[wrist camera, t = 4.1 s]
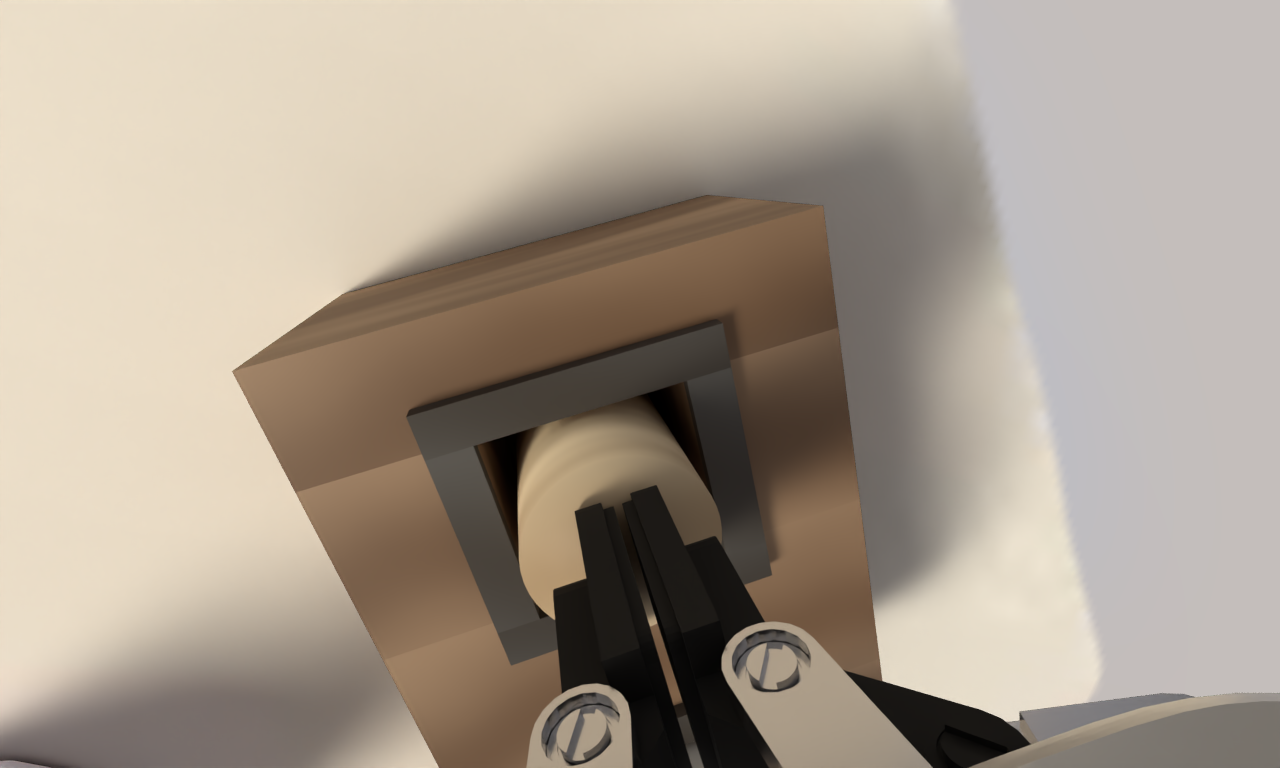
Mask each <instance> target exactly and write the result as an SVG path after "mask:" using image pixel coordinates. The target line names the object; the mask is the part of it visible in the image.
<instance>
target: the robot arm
mask: <svg viewBox="0 0 1280 768" xmlns="http://www.w3.org/2000/svg"><path fill="white" fill-rule="evenodd" d="M630 495H631V499H632V500H631V501H628V502H625V503H622V505H623V509H624V512H625V515H626V519H627V522H628V526H629V529H630V532H631V536H632V539H633V543H634V546H635V549H636V553H637V556H638V560H639V563H640V566H641V570H642V573H643V577H644V580H645V583H646V587H647V590H648V594H649V597H650V600H651V604H652V607H653V611H654V614H655V617H656V620H657V624H658V627H659V630H660V633H661V636H662V639H663V642H664V646H665V649H666V652H667V655H668V658H669V661H670V664H671V667H672V670H673V674H674V677H675V680H676V683H677V686H678V689H679V692H680V695H681V698H682V702H683V705H684V708H685V711H686V714H687V717H688V720H689V723H690V726H691V730H692V733H693V736H694V739H695V742H696V745H697V748H698V751H699V754H700V758H701V761H702V764H703V767H704V768H1280V693H1232V694H1223V695H1213V696H1204V697H1193V696H1189V695H1185V694H1164V693H1163V694H1162V693H1160V694H1153V695H1145V696H1137V697H1129V698H1122V699H1114V700H1106V701H1098V702H1090V703H1082V704H1075V705H1067V706H1059V707H1051V708H1044V709H1036V710H1028V711H1020V721H1013V722H1005V721H1004V720H1003V719H1001V718H999V717H997V716H994V715H992V714H989V713H987V712H985V711H982V710H979V709H976V708H972V707H969V706H965V705H962V704H958V703H955V702H952V701H948V700H945V699H941V698H938V697H934V696H931V695H928V694H924V693H921V692H917V691H914V690H910V689H907V688H904V687H900V686H897V685H893V684H890V683H886V682H883V681H879V680H876V679H873V678H869V677H866V676H862V675H859V674H855V673H852V672H849V671H845V670H843V669H842V668H841V667H840V666H839V665H838V664H837V663H836V662H835V661H834V660H833V659H832V657H831V656H830V655H829V654H828V653H827V652H826V651H825V650H824V649H823V648H822V647H821V645H820V644H819V643H818V642H817V641H816V640H815V639H814V638H813V637H812V636H811V635H809V634H808V633H807V632H806V631H804V630H803V629H801V628H799V627H796V626H794V625H792V624H789V623H782V622H775V621H774V622H765V621H764V619H763V617H762V616H761V614H760V612H759V610H758V609H757V607H756V605H755V603H754V602H753V600H752V598H751V596H750V594H749V593H748V591H747V589H746V587H745V586H744V584H743V582H742V580H741V579H740V577H739V575H738V573H737V572H736V570H735V568H734V566H733V565H732V563H731V561H730V559H729V558H728V556H727V554H726V552H725V550H724V549H723V547H722V545H721V543H720V542H719V540H718V539H717V537H716V536H712V537H709V538H706V539H703V540H700V541H697V542H694V543H691V544H688V545H684V543H683V541H682V538H681V536H680V534H679V532H678V530H677V528H676V526H675V523H674V521H673V519H672V517H671V515H670V513H669V511H668V508H667V506H666V504H665V502H664V500H663V498H662V496H661V493H660V491H659V489H658V487H657V485H654V486H651V487H648V488H645V489H642V490H638V491H635V492H632V493H630ZM575 517H576V523H577V529H578V534H579V540H580V545H581V551H582V557H583V562H584V568H585V573H586V579H583V580H580V581H577V582H574V583H571V584H568V585H565V586H562V587H559V588H555V589H554V590H553V601H554V612H555V623H556V634H557V645H558V656H559V668H560V679H561V690H562V694H561V695H559V696H558V697H556V698H555V699H554V700H553V701H552V702H551V703H550V704H549V705H548V706H547V707H546V708H545V709H544V710H543V711H542V713H541V714H540V716H539V718H538V719H537V721H536V722H535V724H534V728H533V731H532V735H531V738H530V745H529V752H528V760H527V767H526V768H692V765H691V762H690V758H689V755H688V752H687V748H686V745H685V742H684V738H683V735H682V732H681V728H680V725H679V722H678V718H677V715H676V712H675V708H674V705H673V702H672V698H671V695H670V692H669V688H668V685H667V682H666V678H665V675H664V672H663V669H662V665H661V662H660V659H659V655H658V652H657V649H656V645H655V642H654V639H653V635H652V632H651V629H650V625H649V622H648V619H647V615H646V612H645V609H644V606H643V602H642V599H641V596H640V592H639V589H638V586H637V582H636V579H635V576H634V572H633V569H632V566H631V563H630V559H629V556H628V553H627V549H626V546H625V543H624V539H623V536H622V533H621V529H620V526H619V523H618V520H617V516H616V513H615V510H614V506H613V507H609V508H606V509H603V507H602V504H601V503H598V504H595V505H592V506H588V507H585V508H582V509H579V510H576V511H575Z"/></svg>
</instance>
